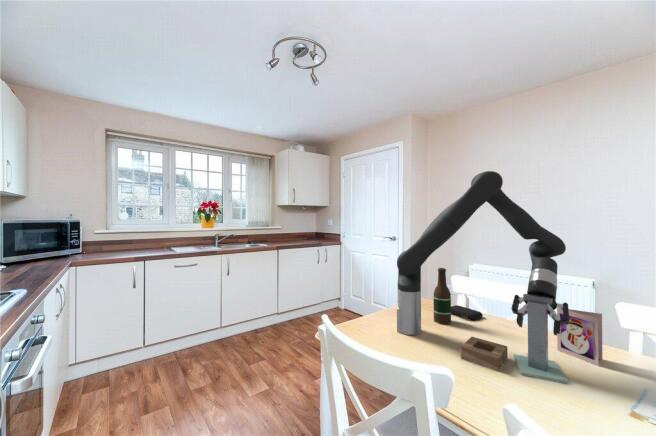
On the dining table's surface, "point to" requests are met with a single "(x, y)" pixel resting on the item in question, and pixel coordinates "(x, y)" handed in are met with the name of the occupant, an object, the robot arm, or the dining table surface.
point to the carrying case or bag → (465, 312)
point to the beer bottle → (442, 299)
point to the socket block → (484, 353)
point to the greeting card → (581, 336)
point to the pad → (551, 373)
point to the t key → (537, 331)
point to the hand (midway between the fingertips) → (537, 329)
